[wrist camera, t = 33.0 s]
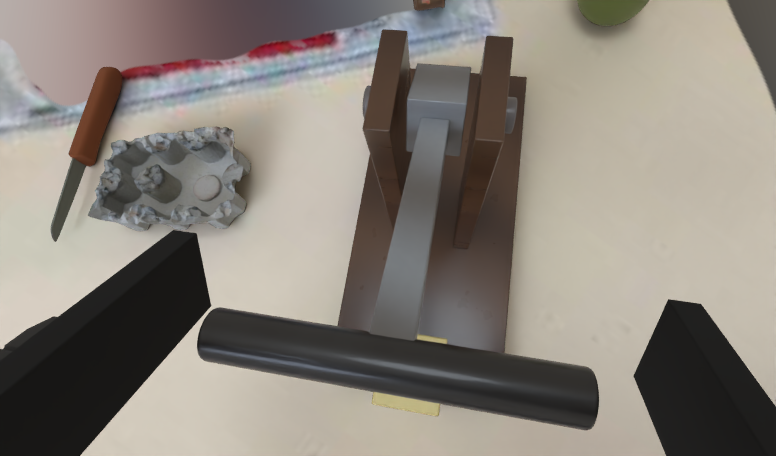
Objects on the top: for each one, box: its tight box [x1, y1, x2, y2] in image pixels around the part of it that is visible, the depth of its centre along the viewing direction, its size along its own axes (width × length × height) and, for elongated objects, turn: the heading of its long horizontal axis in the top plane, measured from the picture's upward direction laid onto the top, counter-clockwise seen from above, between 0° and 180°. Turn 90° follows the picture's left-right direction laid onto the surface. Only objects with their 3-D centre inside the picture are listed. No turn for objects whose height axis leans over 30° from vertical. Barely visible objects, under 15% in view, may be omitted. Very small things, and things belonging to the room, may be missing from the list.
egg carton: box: [88, 127, 251, 231], centre depth 32 cm, size 11×8×4 cm
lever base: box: [338, 30, 527, 353], centre depth 24 cm, size 24×11×17 cm, turn 171°
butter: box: [372, 334, 448, 416], centre depth 25 cm, size 4×4×4 cm
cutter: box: [197, 64, 599, 430], centre depth 14 cm, size 13×9×2 cm
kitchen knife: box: [51, 67, 122, 242], centre depth 35 cm, size 16×1×2 cm, turn 173°
